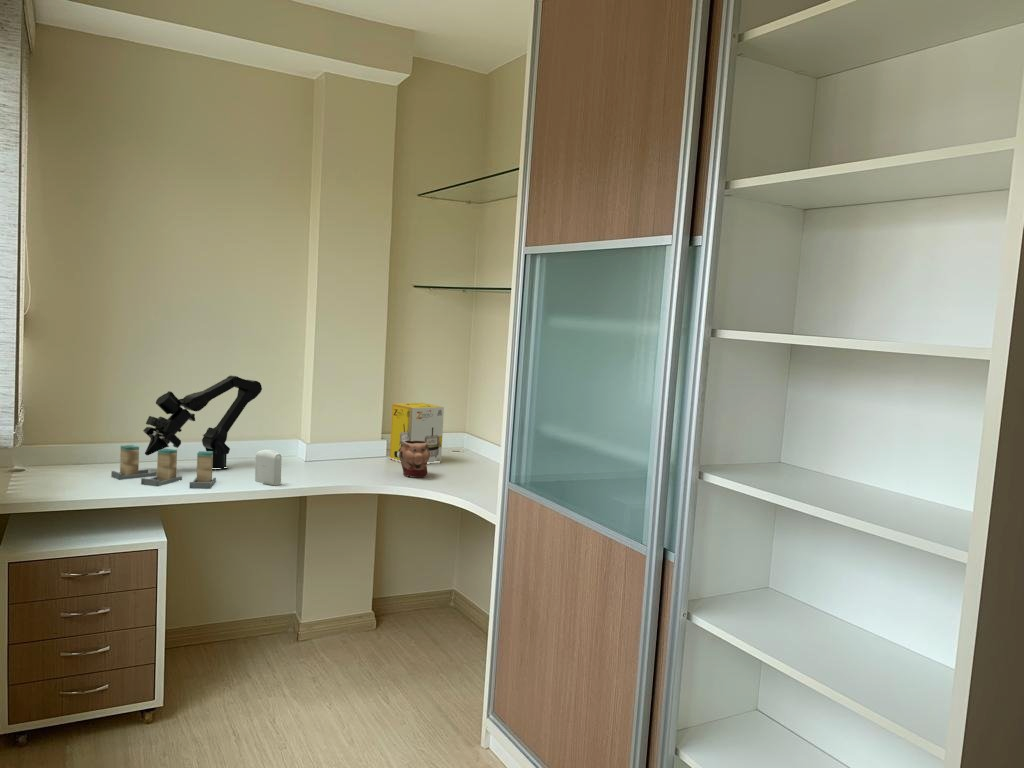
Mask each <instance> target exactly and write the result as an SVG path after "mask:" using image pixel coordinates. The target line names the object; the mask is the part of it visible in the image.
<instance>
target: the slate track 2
mask: <svg viewBox="0 0 1024 768" xmlns="http://www.w3.org/2000/svg"><path fill="white" fill-rule="evenodd" d="M179 480H180V481H182V480H183V476H179V475H178V476H176V478H172V479H168V480H164V481H160V480H157V476H153V477H151V478H147V477H142V478H140V481H141V482H140V484H141V485H142V486H143V485H144V486H153V487H162V486H164V485H168V484H172V483H175V482H179Z"/></svg>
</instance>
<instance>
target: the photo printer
mask: <svg viewBox="0 0 1024 768" xmlns="http://www.w3.org/2000/svg"><path fill="white" fill-rule="evenodd" d="M282 461H283V460H282V455H281V454H280V453H279V452H277V451H275V450H273V449H262V450H259V451H257V453H256V454H255V462H254V463H255V465H254V466H255V467H254V468H255V469H254V470H255V471H254V472H255V473H254V480H255V482H256V483H262V484H265V485H270V486H280V484H282Z"/></svg>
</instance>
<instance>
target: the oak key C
mask: <svg viewBox="0 0 1024 768" xmlns="http://www.w3.org/2000/svg"><path fill="white" fill-rule="evenodd" d="M196 455H197V456H196V457H197V459H196V477H197V482H211V481H212V480H213V470H212V463H213V451H206V450H200V451H198V452H197V453H196Z"/></svg>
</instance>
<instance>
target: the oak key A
mask: <svg viewBox="0 0 1024 768" xmlns="http://www.w3.org/2000/svg"><path fill="white" fill-rule="evenodd" d="M119 459H120V460H119V463H120V464H119V472H120V473H121V474H122V476H124V475H134V474H138V470H140V468H139V467H140V465H139V464H140V463H139V460H140V446H138V445H134V444H127V445H120V458H119Z"/></svg>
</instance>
